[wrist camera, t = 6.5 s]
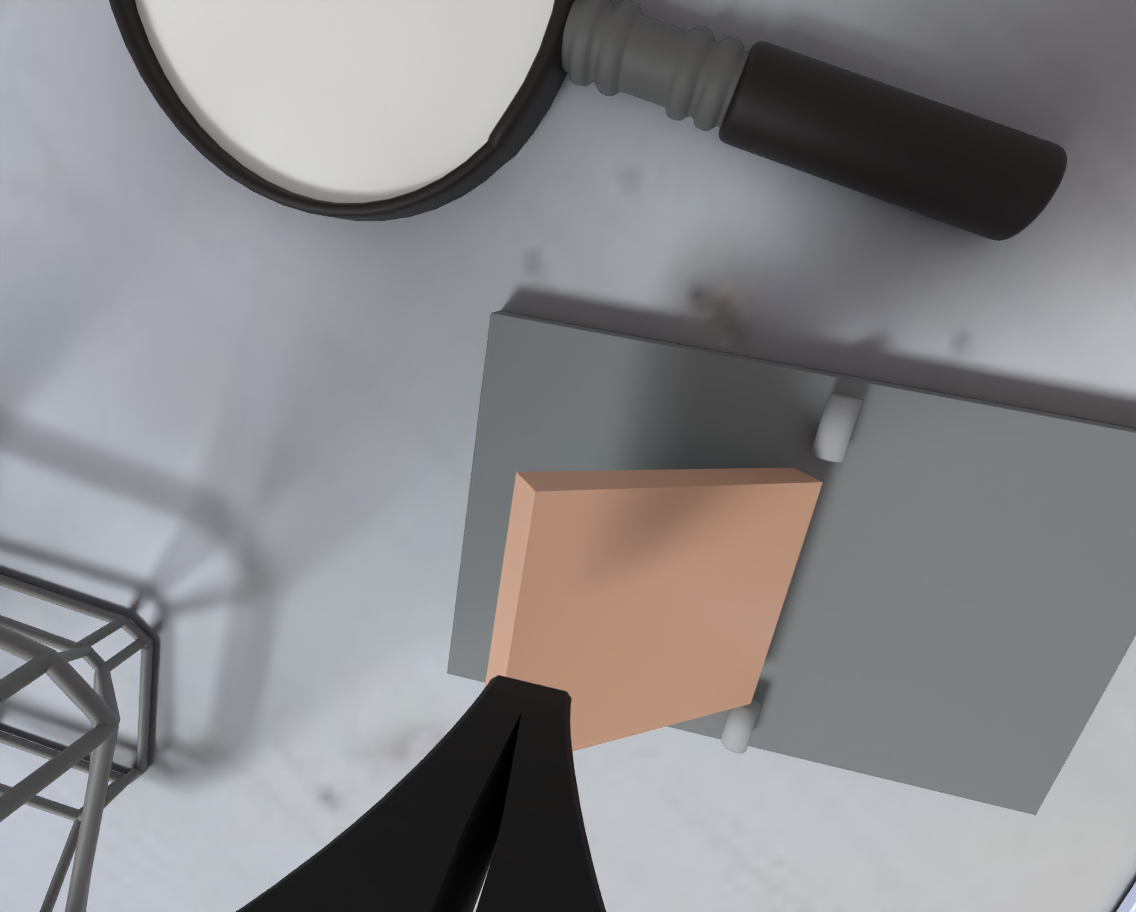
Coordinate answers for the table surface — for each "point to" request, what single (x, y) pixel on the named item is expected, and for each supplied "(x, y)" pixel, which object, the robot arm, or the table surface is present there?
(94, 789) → the geometric lantern
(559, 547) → the tile
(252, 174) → the magnifying glass
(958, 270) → the table surface
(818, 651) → the mat
